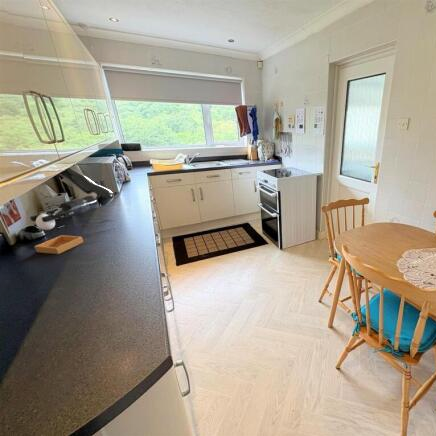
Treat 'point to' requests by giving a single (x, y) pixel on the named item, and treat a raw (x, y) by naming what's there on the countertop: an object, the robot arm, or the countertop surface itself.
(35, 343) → the countertop surface
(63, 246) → the bin
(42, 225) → the egg
